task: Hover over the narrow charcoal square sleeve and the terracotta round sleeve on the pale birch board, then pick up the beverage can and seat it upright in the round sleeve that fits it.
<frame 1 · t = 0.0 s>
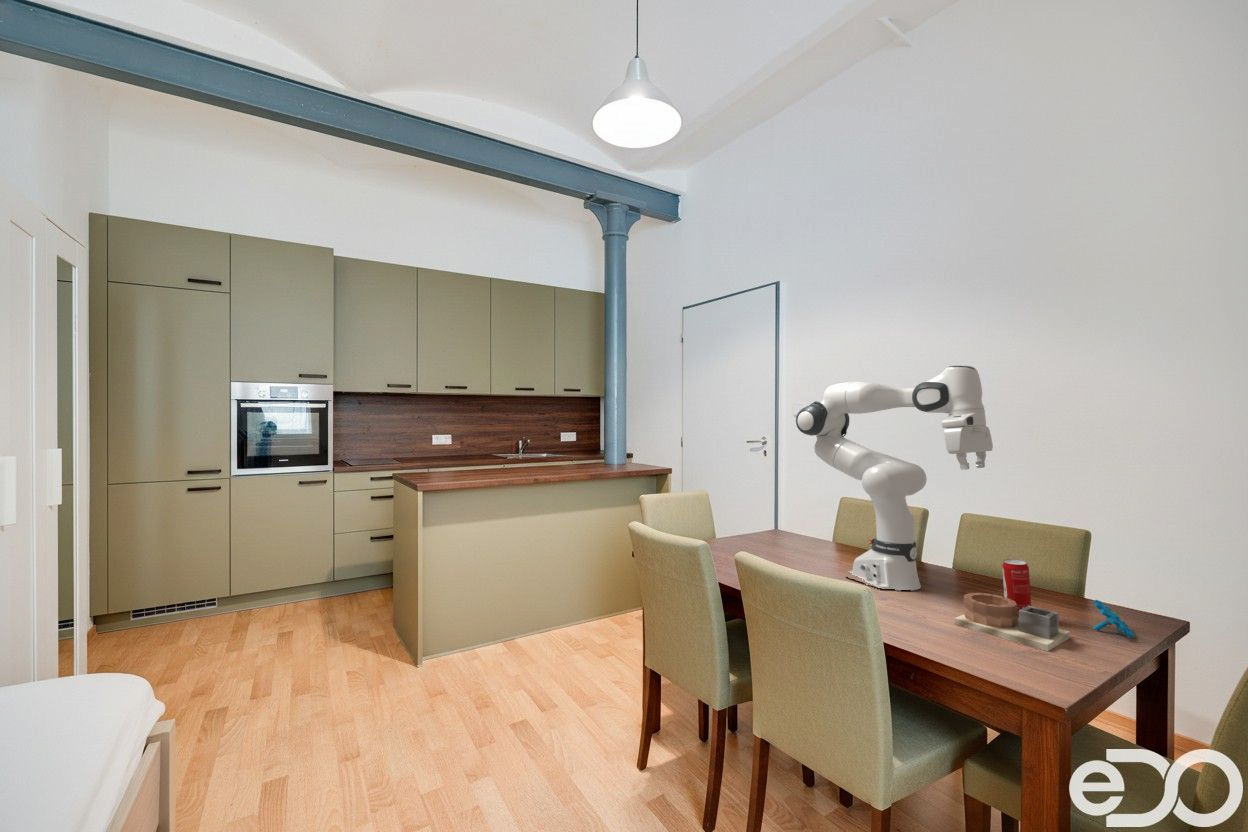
hand: (973, 468, 155), 39 cm above the table, tool pointing down, fingers open, 8 cm apart
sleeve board: (1010, 630, 135), on the table
blue bumpy branched piece: (1113, 634, 134), on the table
beverage can: (1017, 617, 145), on the table
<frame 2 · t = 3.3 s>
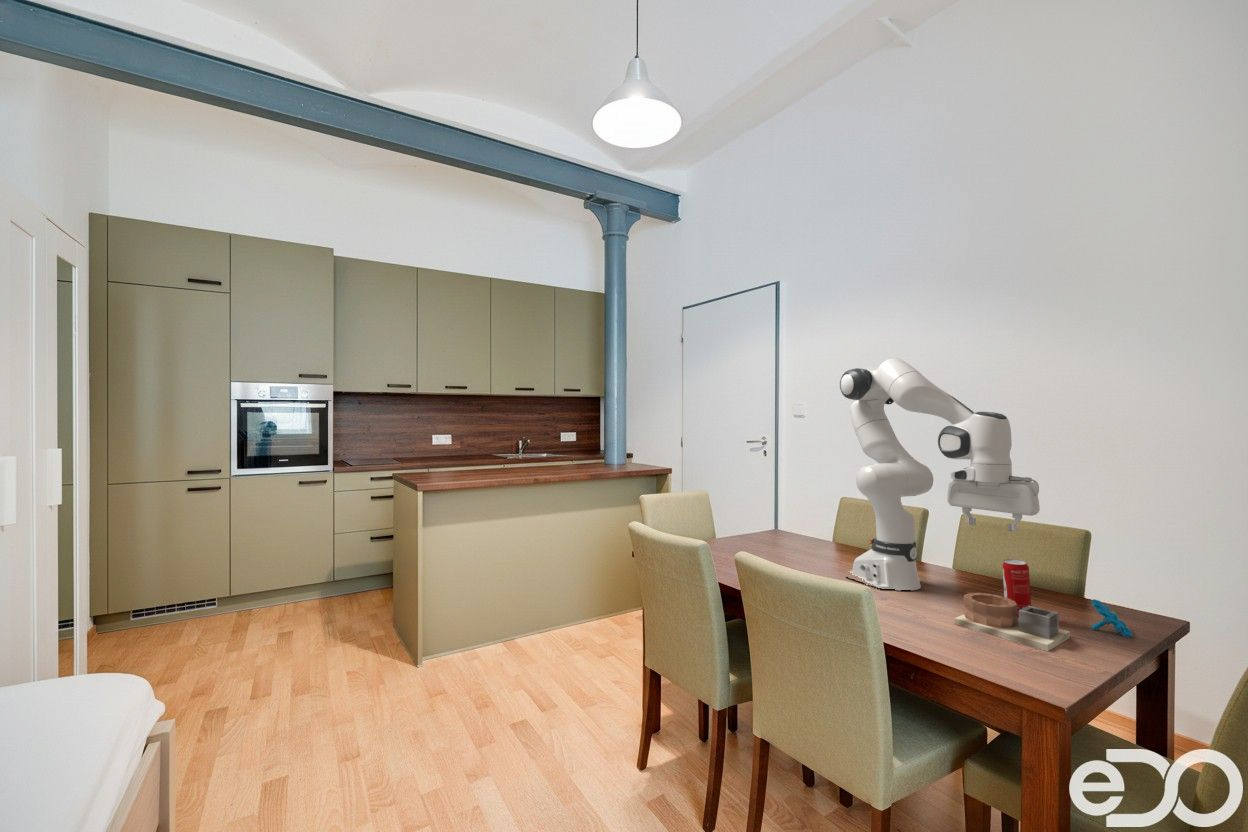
hand: (991, 528, 140), 25 cm above the table, tool pointing down, fingers open, 8 cm apart
nothing on the table moved.
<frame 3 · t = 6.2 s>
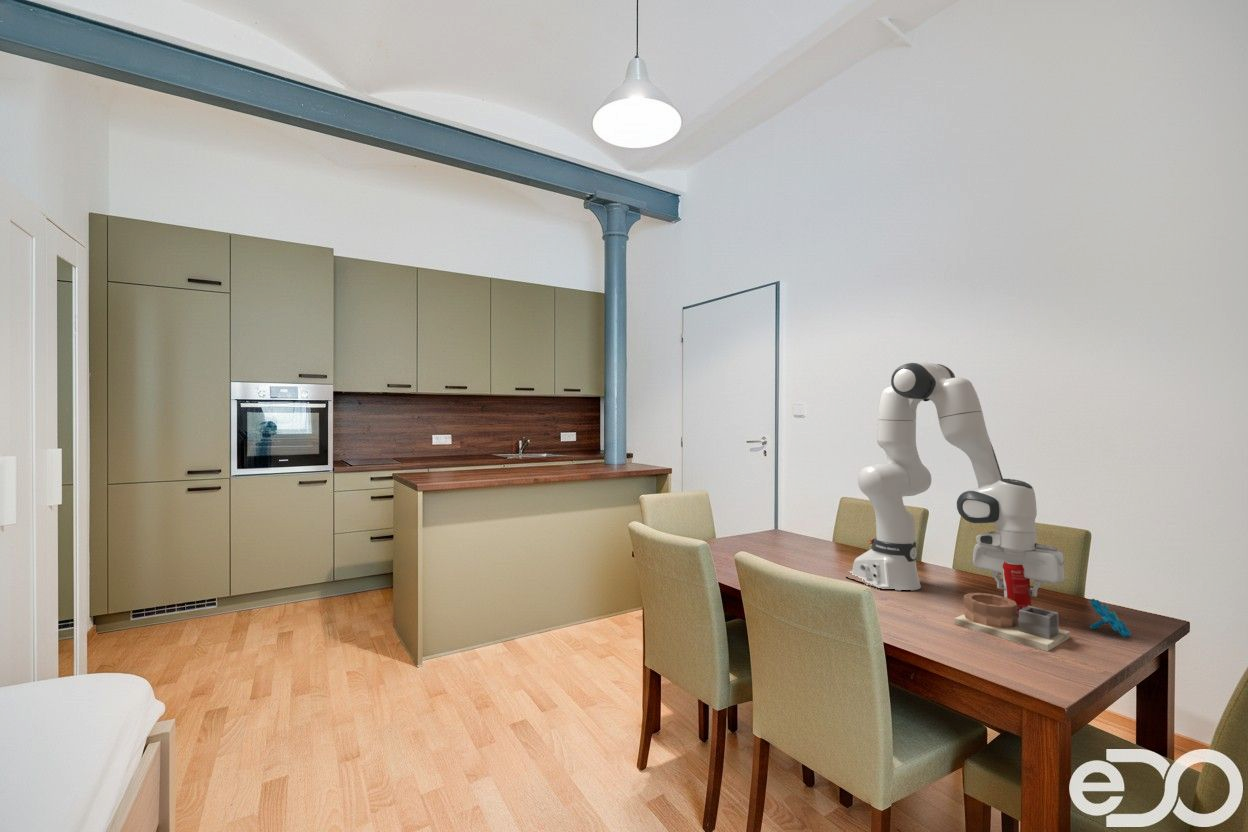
hand: (1016, 592, 145), 7 cm above the table, tool pointing down, fingers closed on beverage can, 6 cm apart
beverage can: (1017, 617, 145), on the table, touching gripper
everything else where it was.
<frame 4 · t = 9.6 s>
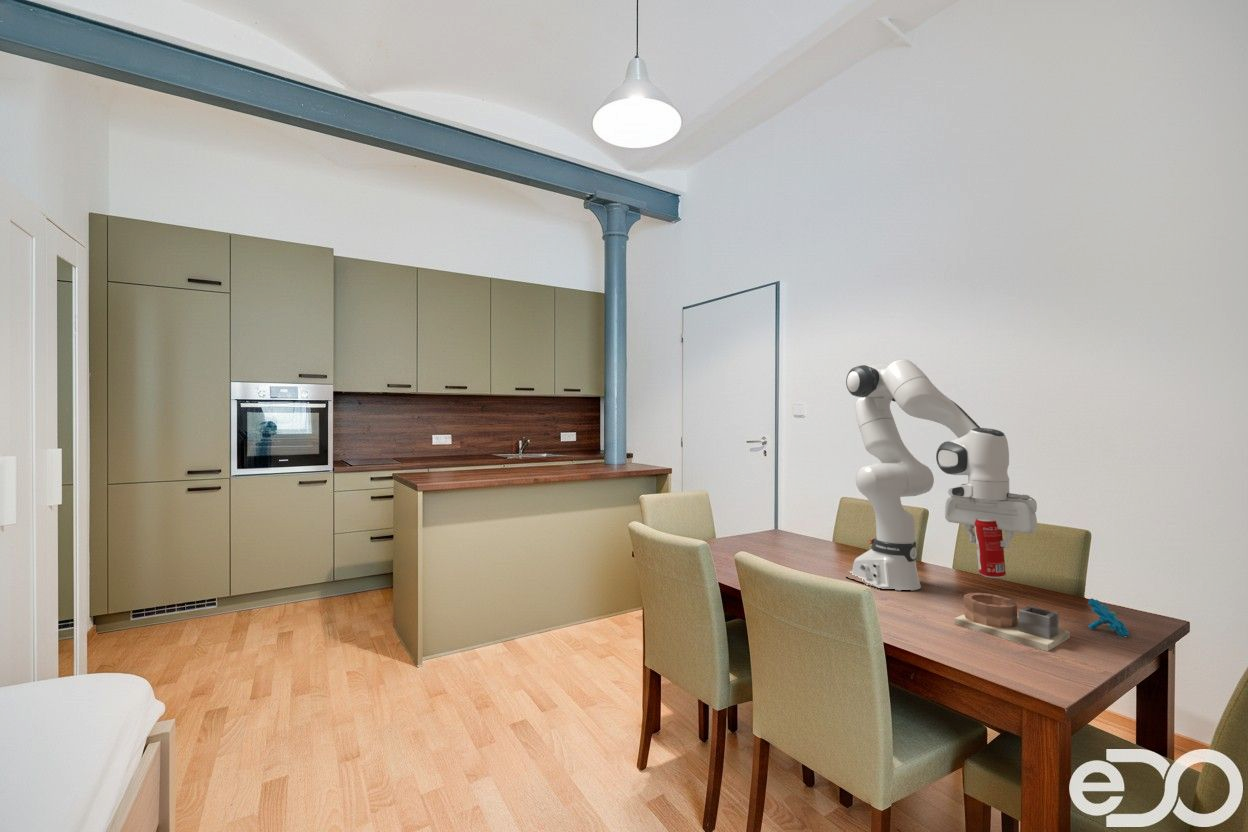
hand: (989, 545, 139), 21 cm above the table, tool pointing down, fingers closed on beverage can, 6 cm apart
beverage can: (991, 576, 139), point 13 cm above the table, touching gripper
when the fingers open (10 cm above the table, at t = 12.4 s): beverage can stays where it is, resting on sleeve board.
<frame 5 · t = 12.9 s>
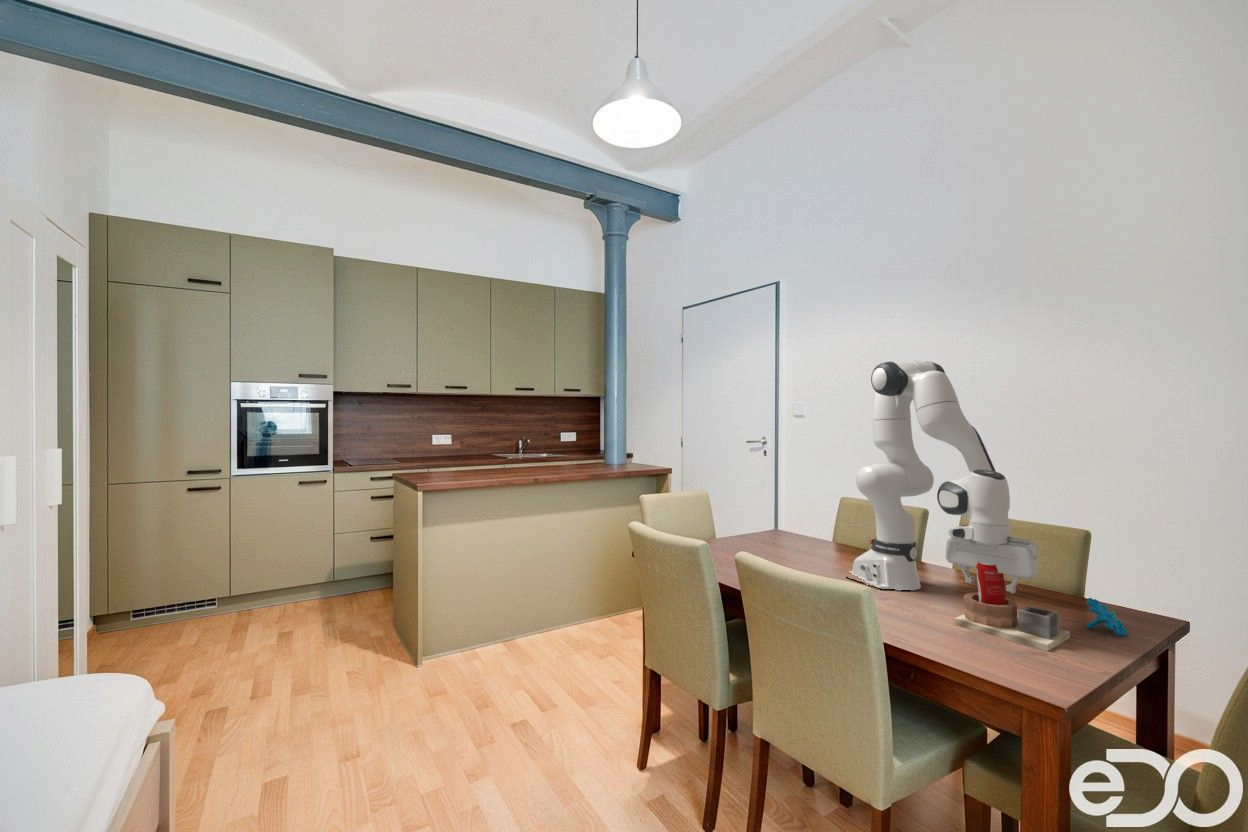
hand: (989, 587, 139), 10 cm above the table, tool pointing down, fingers open, 8 cm apart
beverage can: (992, 619, 139), point 1 cm above the table, touching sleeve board
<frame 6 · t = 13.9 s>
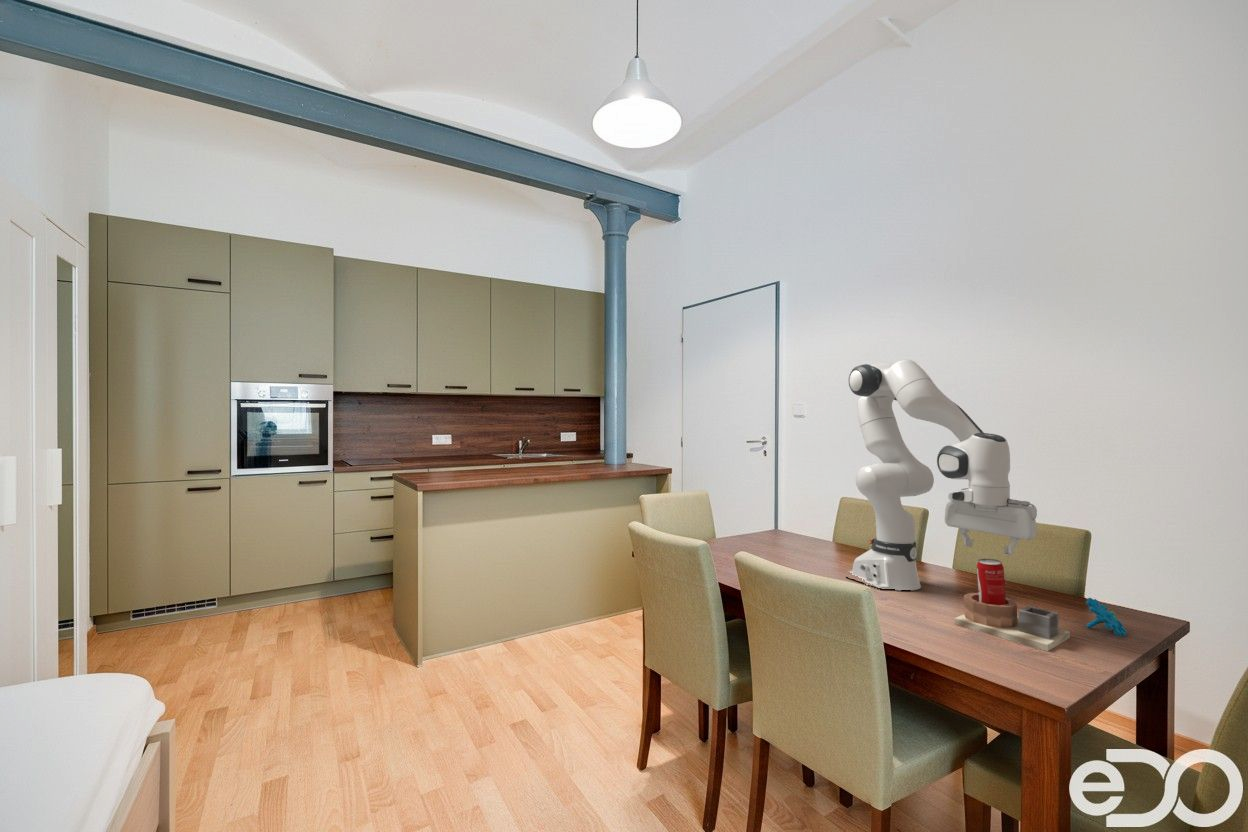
hand: (988, 549, 140), 19 cm above the table, tool pointing down, fingers open, 8 cm apart
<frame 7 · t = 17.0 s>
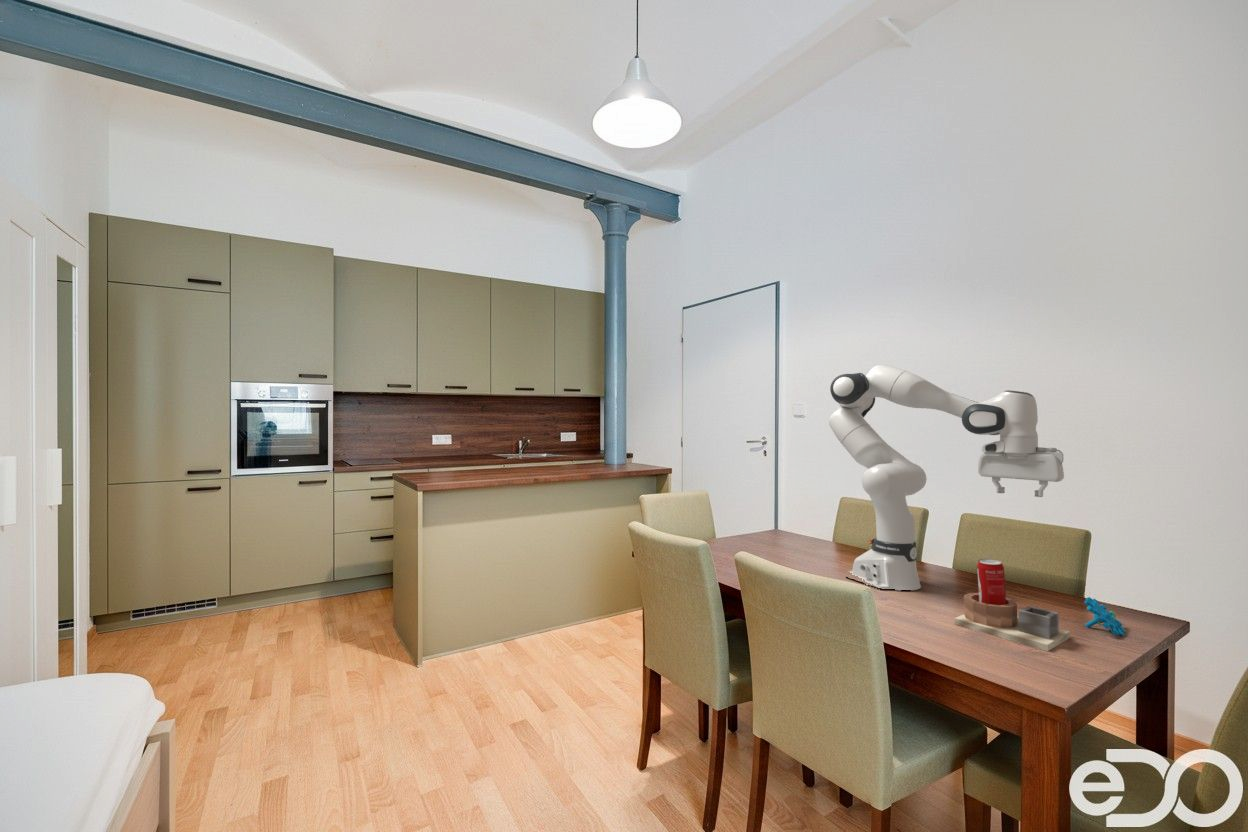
hand: (1019, 494, 155), 31 cm above the table, tool pointing down, fingers open, 8 cm apart
at the end: beverage can 0.7 cm from the target spot on the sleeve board, point 1.3 cm above the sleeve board's base; beverage can tilted 0°; the gripper is holding nothing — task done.
